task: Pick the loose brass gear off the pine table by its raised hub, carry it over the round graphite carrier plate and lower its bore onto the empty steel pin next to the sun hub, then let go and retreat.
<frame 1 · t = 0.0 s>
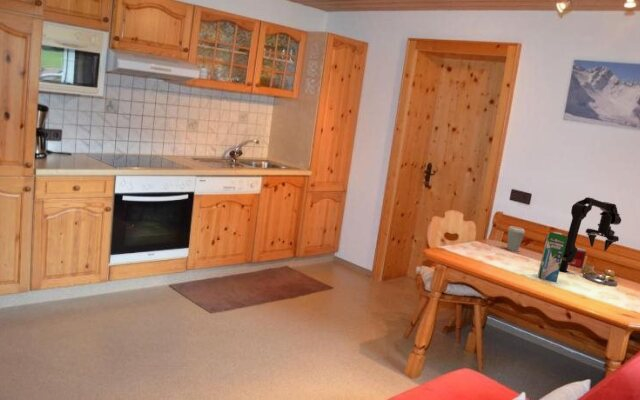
hand: (598, 248, 343), 15 cm above the table, fingers open, 9 cm apart
planet gear: (587, 273, 337), on the table
disposable coffee cup: (511, 250, 368), on the table
carrier: (599, 280, 322), on the table
milk carton: (546, 278, 303), on the table
canned food: (575, 266, 355), on the table
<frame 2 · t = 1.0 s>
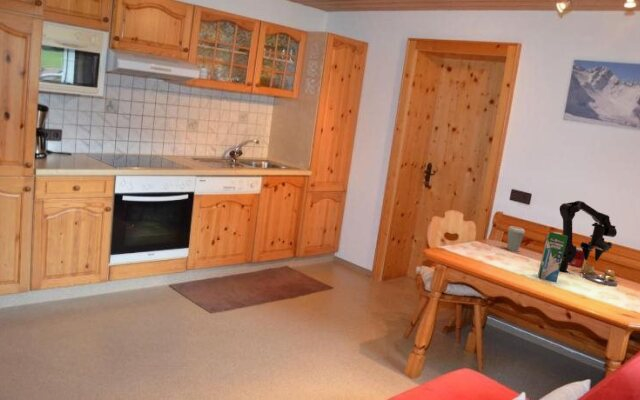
hand: (591, 260, 336), 8 cm above the table, fingers open, 9 cm apart
nothing on the table moved.
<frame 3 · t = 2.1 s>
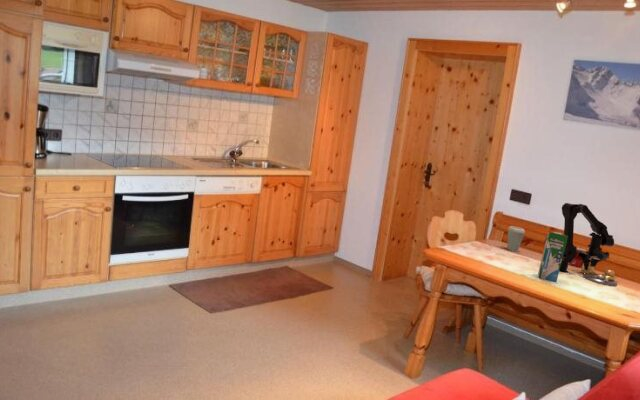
hand: (588, 270, 336), 2 cm above the table, fingers closed on planet gear, 5 cm apart
planet gear: (587, 273, 337), on the table, touching gripper
everything else where it was.
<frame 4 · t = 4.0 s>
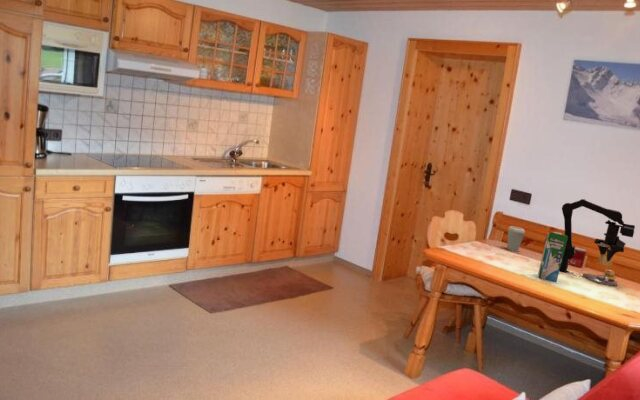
hand: (605, 260, 321), 12 cm above the table, fingers closed on planet gear, 5 cm apart
planet gear: (604, 263, 321), point 10 cm above the table, touching gripper
everything else where it was.
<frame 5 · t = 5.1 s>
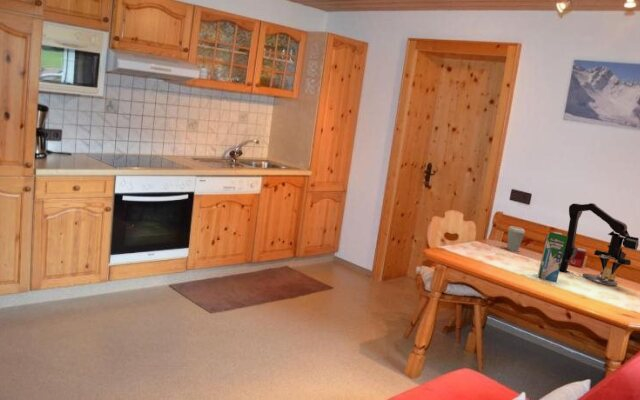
hand: (608, 272, 314), 7 cm above the table, fingers closed on planet gear, 5 cm apart
planet gear: (607, 276, 315), point 5 cm above the table, touching gripper
everything else where it was.
when the fingers open (4 cm above the table, at t = 6.0 s): planet gear stays where it is, resting on carrier.
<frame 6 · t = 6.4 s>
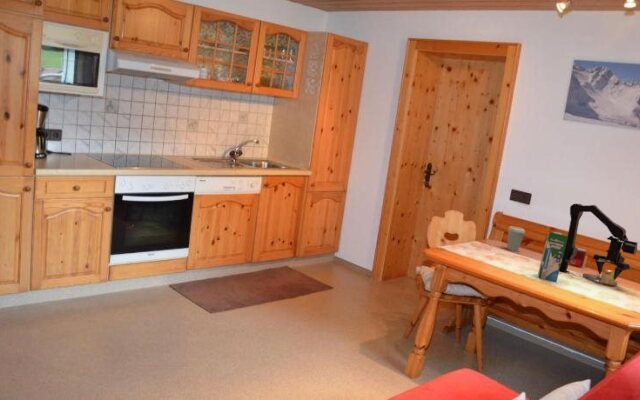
hand: (607, 276, 315), 4 cm above the table, fingers open, 9 cm apart
planet gear: (605, 282, 315), point 1 cm above the table, touching carrier
everything else where it was.
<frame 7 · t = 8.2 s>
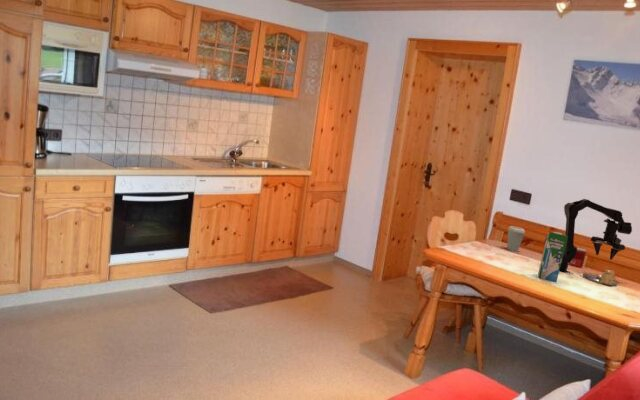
hand: (603, 257, 330), 12 cm above the table, fingers open, 9 cm apart
nothing on the table moved.
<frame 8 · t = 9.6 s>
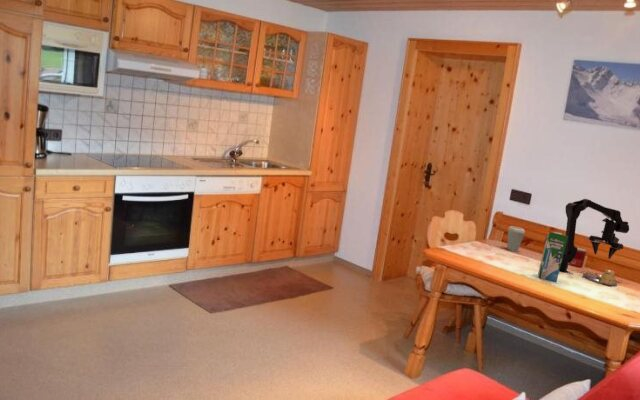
hand: (602, 256, 333), 12 cm above the table, fingers open, 9 cm apart
nothing on the table moved.
at the end: planet gear 0.1 cm from the target spot on the carrier, point 1.2 cm above the carrier's base; the gripper is holding nothing; planet gear tilted 0° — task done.
